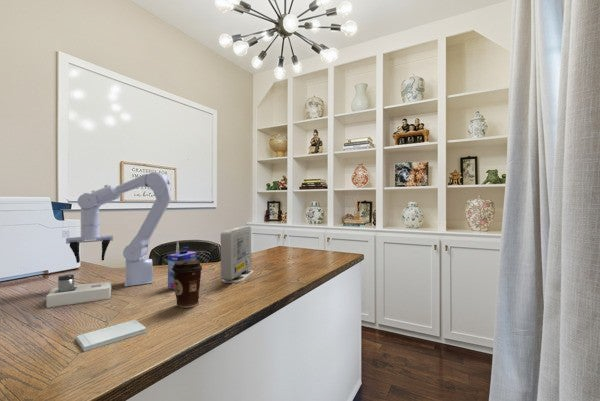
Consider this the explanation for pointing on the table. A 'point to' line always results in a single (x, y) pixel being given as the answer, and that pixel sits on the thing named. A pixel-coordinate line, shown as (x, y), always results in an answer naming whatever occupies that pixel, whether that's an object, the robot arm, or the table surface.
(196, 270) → the coffee cup
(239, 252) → the network device
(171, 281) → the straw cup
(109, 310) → the table surface
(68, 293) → the block
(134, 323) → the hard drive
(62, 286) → the pipe stub
